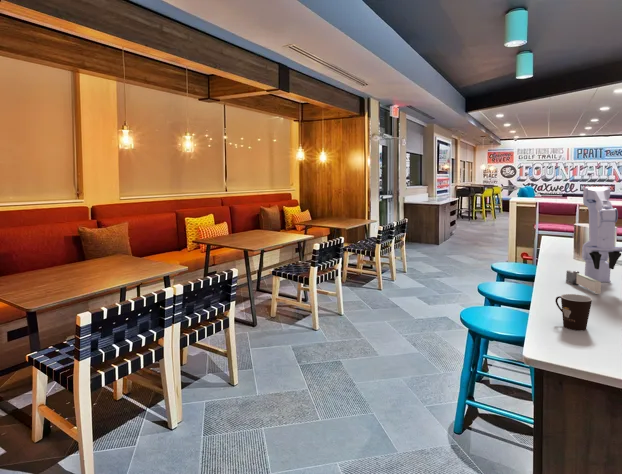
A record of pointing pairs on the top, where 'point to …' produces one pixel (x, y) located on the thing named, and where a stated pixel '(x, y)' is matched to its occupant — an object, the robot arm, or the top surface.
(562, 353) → the top surface
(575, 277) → the gate post
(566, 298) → the coffee mug
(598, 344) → the top surface
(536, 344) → the top surface
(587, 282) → the gate
